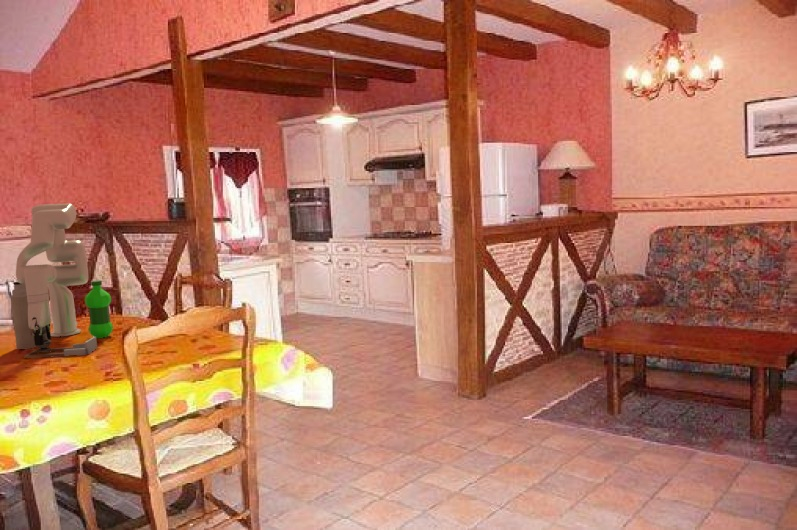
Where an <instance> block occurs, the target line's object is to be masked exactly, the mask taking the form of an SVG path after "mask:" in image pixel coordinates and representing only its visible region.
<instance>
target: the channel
mask: <svg viewBox="0 0 797 530" xmlns="http://www.w3.org/2000/svg"><path fill="white" fill-rule="evenodd" d="M65 349H73V346H72V347H59V348H57V347H56V348H51V350H49V351H45V352H46V353H37V350H38V349H34V350H33V351H30V352H28V353H27V354H25V355H23V359H24V360H26V359H25V358H31V359H42V358H41V357H46V358H52V357H51V356H61V357H65V356H64V350H65ZM50 351H61V352H52V353H51V352H50ZM34 354H35V355H34ZM39 357H40V358H39Z"/></svg>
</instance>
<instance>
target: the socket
mask: <svg viewBox="0 0 797 530" xmlns="http://www.w3.org/2000/svg"><path fill="white" fill-rule="evenodd" d="M72 347H73V349H65V350H64V351H63V353H64V356H63V357H70V356H69V355H77V356H88V355H87V354H89V355H90V354H92V353H93V352H94V351H96V350H97V349H98V343H97V338H96V337H94V336H92V337H91V338H89V339H87V340H85V342H84V343H74V344H72ZM95 349H96V350H95ZM92 351H93V352H92Z"/></svg>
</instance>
